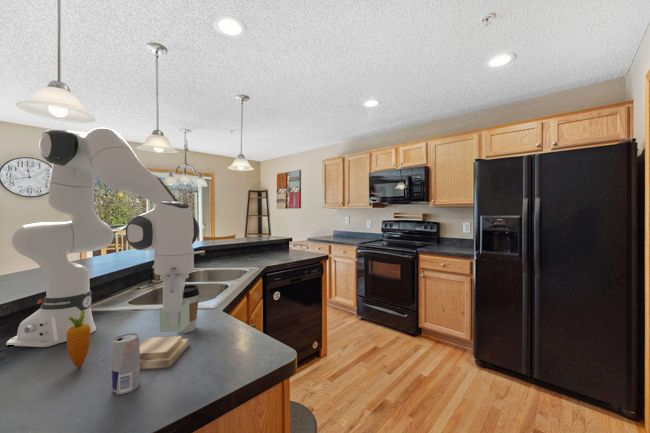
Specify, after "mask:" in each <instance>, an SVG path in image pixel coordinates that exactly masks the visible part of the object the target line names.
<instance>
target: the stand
mask: <svg viewBox="0 0 650 433" xmlns="http://www.w3.org/2000/svg"><path fill="white" fill-rule="evenodd" d="M189 346H190V338H183V336H182V335H179V336H157V337H156V336H155V337H147V338H146V339H144V340H143V341H142V342H141V343H139V350H140V370H146V369H148V370H149V369H150V370H151V369H165V368H169V369H170V368H171V367H172V366H173V364H174V363H175V362H176V361H178V359H179V358H180V357H181V355H182V354H183V353H184V352H185V350H186V349H187V348H188V347H189Z"/></svg>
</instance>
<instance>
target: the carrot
mask: <svg viewBox="0 0 650 433" xmlns="http://www.w3.org/2000/svg"><path fill="white" fill-rule="evenodd" d="M84 316H85V311H81V314H80V317H79V319H74V317H72V316H71V317H70V316H69V317H68V319H70V320H71V321H72V322H73V324H74V325H75V326H72V327H70V328H69V329H68V331H67V341H66V347H67V351H68V352H67V353H68V355H69V359H70V361H71V362H72V364H73V365H74V366H75V368H77V369H80V368H81V367H82V366H83V364H84V363H85V360H86V358H87V356H88V353H89V352H88V351H89V349H90V348H89V347H90V343H91V341H90V340H91V333H90V326H89V325H88V324H82V322H83V319H84Z"/></svg>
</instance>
